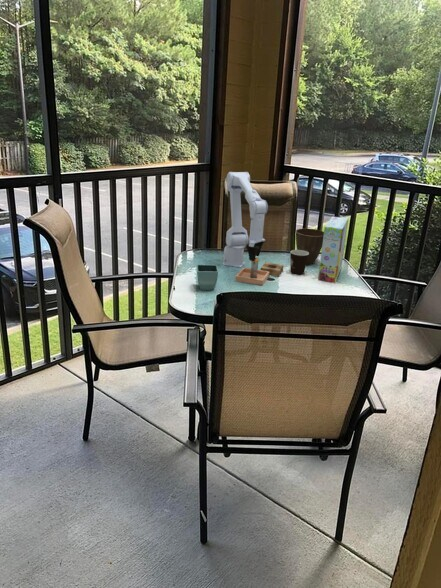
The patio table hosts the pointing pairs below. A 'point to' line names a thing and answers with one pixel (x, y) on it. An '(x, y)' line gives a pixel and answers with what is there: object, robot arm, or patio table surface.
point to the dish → (245, 277)
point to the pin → (254, 268)
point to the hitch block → (273, 269)
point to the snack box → (333, 249)
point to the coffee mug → (298, 261)
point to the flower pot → (207, 276)
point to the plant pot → (309, 243)
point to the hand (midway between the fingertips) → (254, 258)
